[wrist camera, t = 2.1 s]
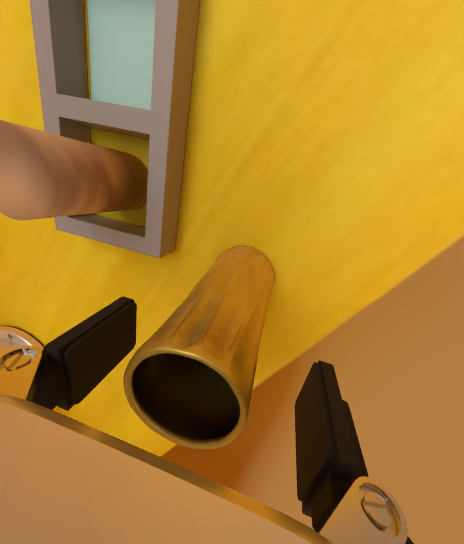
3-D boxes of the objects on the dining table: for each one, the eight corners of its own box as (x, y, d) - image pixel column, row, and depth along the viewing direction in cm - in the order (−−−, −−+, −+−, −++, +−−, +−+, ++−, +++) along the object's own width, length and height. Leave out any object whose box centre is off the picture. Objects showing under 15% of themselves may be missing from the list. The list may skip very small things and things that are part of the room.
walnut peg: (150, 214, 21) (50, 229, 12) (106, 203, 22) (-20, 209, 13) (153, 158, 20) (37, 127, 10) (104, 148, 20) (-44, 111, 11)
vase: (280, 251, 20) (274, 362, 7) (268, 308, 22) (247, 476, 9) (216, 240, 21) (104, 320, 8) (211, 296, 23) (118, 431, 10)
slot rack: (174, 250, 22) (159, 257, 19) (82, 225, 24) (56, 229, 21) (203, -39, 14) (185, -94, 12) (64, -49, 16) (18, -100, 13)
